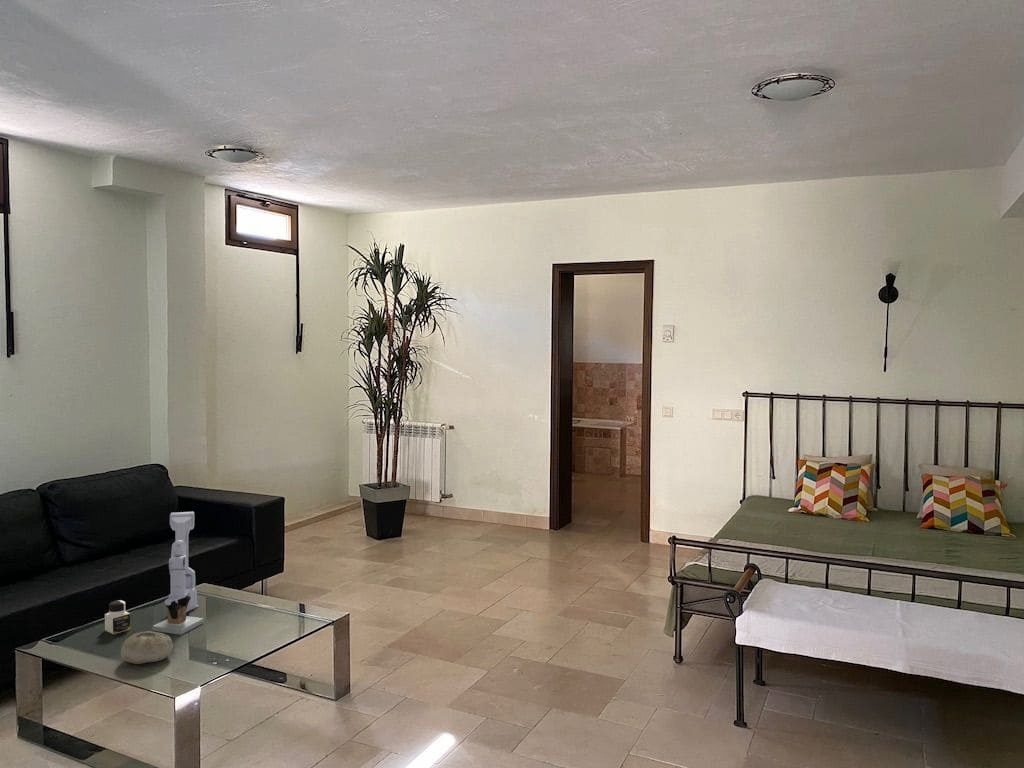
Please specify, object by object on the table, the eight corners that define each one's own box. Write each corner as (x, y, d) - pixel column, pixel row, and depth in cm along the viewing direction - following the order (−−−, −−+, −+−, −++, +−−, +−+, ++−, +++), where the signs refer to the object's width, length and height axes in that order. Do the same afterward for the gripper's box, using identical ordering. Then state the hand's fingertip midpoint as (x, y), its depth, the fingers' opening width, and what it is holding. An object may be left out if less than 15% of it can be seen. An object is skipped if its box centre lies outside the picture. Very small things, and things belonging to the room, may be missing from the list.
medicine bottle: (113, 634, 322) (112, 605, 321) (104, 630, 326) (104, 602, 326) (130, 629, 328) (130, 601, 327) (121, 625, 332) (121, 597, 331)
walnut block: (175, 619, 335) (175, 605, 334) (186, 620, 334) (185, 606, 333) (167, 623, 330) (167, 609, 330) (178, 624, 329) (178, 610, 328)
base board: (175, 619, 340) (175, 614, 340) (203, 622, 337) (203, 618, 336) (152, 630, 327) (152, 625, 327) (181, 634, 323) (181, 629, 323)
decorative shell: (168, 647, 310) (168, 622, 309) (177, 663, 295) (176, 637, 294) (118, 657, 300) (117, 631, 300) (124, 674, 285) (123, 647, 285)
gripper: (180, 578, 339) (180, 609, 339) (158, 589, 324) (158, 621, 325) (195, 580, 337) (195, 611, 338) (173, 590, 323) (173, 623, 324)
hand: (178, 616), depth 331 cm, fingers closed on walnut block, 5 cm apart
